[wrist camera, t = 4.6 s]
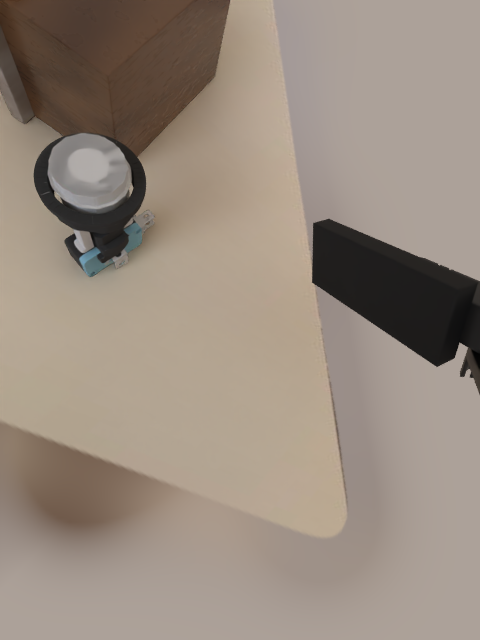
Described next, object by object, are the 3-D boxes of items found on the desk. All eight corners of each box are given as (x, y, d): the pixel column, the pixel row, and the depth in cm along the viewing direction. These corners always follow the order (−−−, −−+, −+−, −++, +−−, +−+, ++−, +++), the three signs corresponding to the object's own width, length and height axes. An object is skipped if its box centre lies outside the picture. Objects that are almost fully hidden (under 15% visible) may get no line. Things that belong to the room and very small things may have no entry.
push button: (130, 198, 28) (122, 91, 19) (174, 249, 28) (188, 167, 19) (54, 243, 26) (2, 148, 17) (101, 299, 26) (75, 235, 17)
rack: (11, 115, 28) (-77, -77, 17) (140, 9, 33) (137, -187, 22) (110, 184, 28) (87, 43, 17) (221, 69, 34) (256, -94, 23)
